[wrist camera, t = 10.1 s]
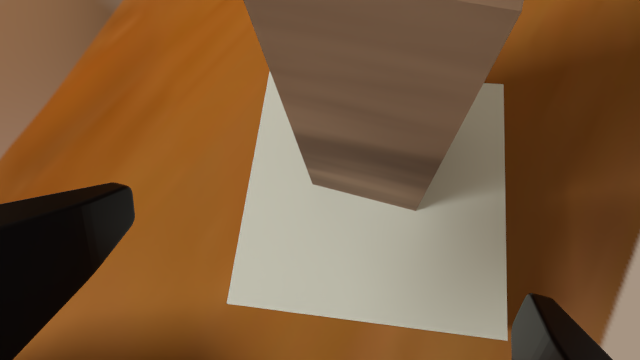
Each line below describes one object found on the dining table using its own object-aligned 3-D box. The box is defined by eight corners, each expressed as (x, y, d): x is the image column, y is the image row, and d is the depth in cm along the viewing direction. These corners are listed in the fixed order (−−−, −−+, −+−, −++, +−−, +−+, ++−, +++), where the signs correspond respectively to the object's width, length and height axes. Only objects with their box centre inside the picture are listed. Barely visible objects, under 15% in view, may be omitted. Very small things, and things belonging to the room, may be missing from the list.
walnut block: (415, 211, 19) (521, 11, 6) (312, 184, 20) (229, -37, 7) (438, 115, 20) (560, -200, 8) (340, 94, 21) (311, -219, 9)
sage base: (486, 336, 19) (507, 340, 17) (244, 305, 21) (226, 303, 18) (485, 112, 23) (503, 84, 20) (280, 99, 25) (269, 71, 22)
